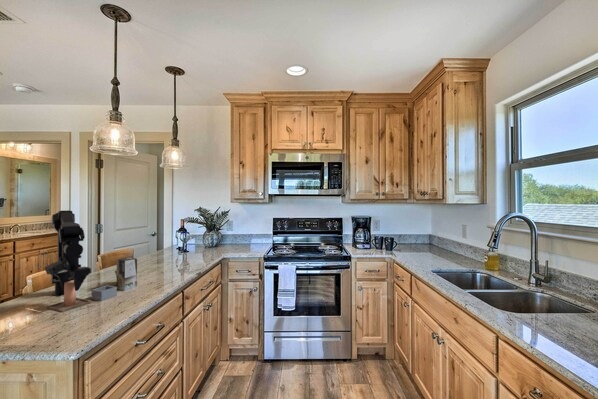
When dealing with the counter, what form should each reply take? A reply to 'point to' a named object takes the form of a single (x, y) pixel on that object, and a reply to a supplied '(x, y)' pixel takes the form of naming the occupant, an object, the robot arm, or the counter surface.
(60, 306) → the tray
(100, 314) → the counter surface
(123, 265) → the coffee box
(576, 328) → the counter surface
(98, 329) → the counter surface
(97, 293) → the open box
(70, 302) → the dowel
